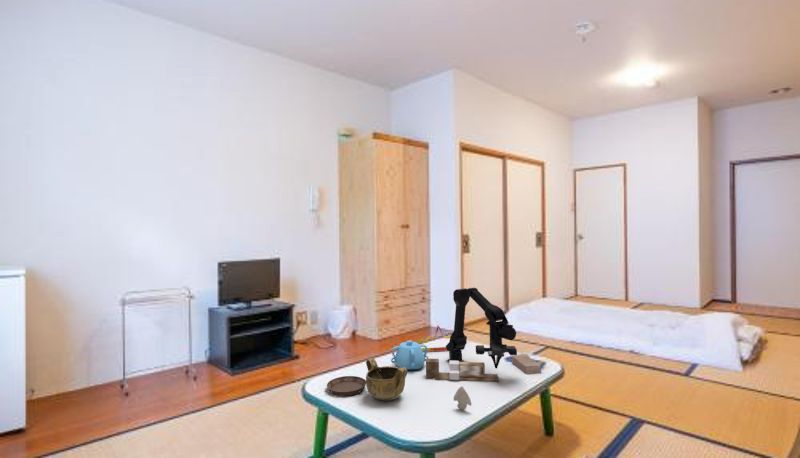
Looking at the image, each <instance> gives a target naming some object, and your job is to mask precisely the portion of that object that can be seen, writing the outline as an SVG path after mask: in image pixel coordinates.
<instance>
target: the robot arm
mask: <svg viewBox="0 0 800 458" xmlns="http://www.w3.org/2000/svg"><path fill="white" fill-rule="evenodd" d="M452 295H453V299H452V300H453V303H454V305H455V314H454V325H453V332H452V334H451V337H450V338H449V342H447V344H446V345H445V347H446V350H448V351H447V352H448V353H449V354H448V355H449V357H448V358H449V359H447V362H449V363H450V361H459V362H465V360H464V359H463V353H462V351H463V350H465V347H466V345H467V344H468V342H467V339H468V337H467V336H468V335H465V333H464V329H465V317H466V316H465V315H466V306H467V305H468V303H469V302H470V299H472V300H473V301H474V302H475V304H477V305H478V306H479V307H480V308H481V310H483V312H484V316H485V317H486V318H487V320H488V321H487V322H486V323H485V324H486V325H488V326H489V347H485V345H484V344H482V345H476V346H475V355H484V354H485V353H487V355H488V357H490V358H491V360H492V362H493V366H494V369H498V366H499V364H500V361H501V359H502V358H503V357H505V353H508V355H510V356H516V355H518V349H517V348H516V346H515V345H507V344H503V339H505V340H509V341H514V340H515V339H516V336H517V330H516V328H514V325H513V324H509V321H508V319H507V318H508V317H507V316H506V315H505V312H504V310H503V309H502V308H501V307H500V306H497V305H495V304H493V303H492V302H491V301H489V299H487V298H486V297H485V296H484V295H483V294H482V293H481V292H480V291H479V289H478V288H477V287H469V288H458V289H457V288H456V289H455V290H454V291H453V294H452Z"/></svg>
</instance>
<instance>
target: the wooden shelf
mask: <svg viewBox="0 0 800 458" xmlns="http://www.w3.org/2000/svg"><path fill="white" fill-rule="evenodd" d="M425 359H426V361H425V379H428V380H429V379H432V380H434V381H452V382H453V381H455V382H456V381H458V382H481V383H482V382H484V383H485V382H486V383H488V382H489V383H490V382H491V383H499V382H500V379H499V375H498V373H485V377H460V376H459V380H450V377H449V372H444V371H443V372H442V371H441V372H440V359H439V358H429V357H428V358H427V357H426V358H425Z"/></svg>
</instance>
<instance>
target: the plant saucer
mask: <svg viewBox="0 0 800 458" xmlns="http://www.w3.org/2000/svg"><path fill="white" fill-rule="evenodd" d="M326 387H327V389H328V390H329V392H330V393H332V394H333V395H334V396H335V395H337V396H341V397H343V396H344V397H345V396H347V397H348V396H353V395H356V394H359V393H360V392H362V390H363V389H364V388H365V387H366V378H363V377H360V376H356V375H345V376H339V377H335V378H333V379H330V380H329V381H328V382H326Z"/></svg>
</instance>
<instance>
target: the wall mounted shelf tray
mask: <svg viewBox="0 0 800 458" xmlns="http://www.w3.org/2000/svg"><path fill="white" fill-rule="evenodd" d="M485 366H486V365H485V362H483V361H482V362H478V361H475V362H473V361H463V362H459V376H460V377H485V374H486V372H485V368H486V367H485Z"/></svg>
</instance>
